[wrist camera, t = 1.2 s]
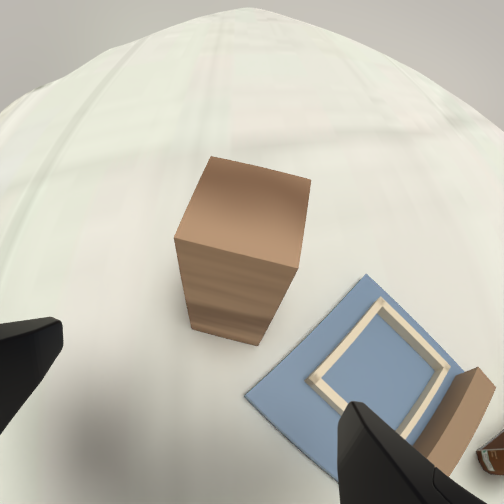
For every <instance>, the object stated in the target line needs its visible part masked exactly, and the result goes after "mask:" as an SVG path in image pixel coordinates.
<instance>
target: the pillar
mask: <svg viewBox="0 0 504 504" xmlns="http://www.w3.org/2000/svg"><path fill="white" fill-rule="evenodd" d="M310 185H311V180H310V179H307V178H303V177H299V176H295V175H291V174H287V173H283V172H279V171H275V170H271V169H267V168H263V167H258V166H254V165H250V164H245V163H241V162H236V161H232V160H227V159H222V158H217V157H212V156H211V157H210V159H209V161H208V163H207V165H206V167H205V169H204V172H203V174H202V176H201V178H200V180H199V182H198V184H197V187H196V189H195V191H194V193H193V195H192V197H191V200H190V202H189V204H188V206H187V209H186V211H185V213H184V215H183V218H182V220H181V222H180V224H179V227H178V229H177V231H176V234H175V236H174V241H175V247H176V252H177V258H178V264H179V269H180V274H181V280H182V285H183V290H184V295H185V300H186V305H187V309H188V314H189V319H190V323H191V328H192V329H193V330H197V331H201V332H204V333H208V334H212V335H215V336H219V337H223V338H227V339H231V340H235V341H239V342H243V343H247V344H251V345H255V346H258V345H259V343H260V341H261V340H262V338H263V336H264V334H265V332H266V330H267V328H268V326H269V325H270V323H271V321H272V319H273V317H274V315H275V313H276V311H277V309H278V307H279V305H280V303H281V301H282V300H283V298H284V296H285V294H286V292H287V290H288V288H289V286H290V284H291V282H292V280H293V278H294V276H295V274H296V272H297V270H298V267H299V261H300V254H301V248H302V241H303V235H304V228H305V221H306V214H307V207H308V200H309V193H310Z"/></svg>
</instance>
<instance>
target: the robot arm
mask: <svg viewBox="0 0 504 504" xmlns="http://www.w3.org/2000/svg"><path fill="white" fill-rule="evenodd" d="M62 348H63V326H62V322H61V321H60V320H58V319H55V318H53V317H45V318H38V319H31V320H24V321H17V322H10V323H3V324H0V435H1V433H2V432H3V430H4V429H5V428H6V426H7V425H8V424H9V422H10V421H11V420H12V418H13V417H14V416H15V414H16V413H17V412H18V410H19V409H20V408H21V406H22V405H23V404H24V403H25V401H26V400H27V399H28V398H29V396H30V395H31V394H32V392H33V391H34V390H35V389H36V387H37V386H38V385H39V384H40V382H41V381H42V379H43V378H44V376H45V375H46V373H47V372H48V370H49V368H50V367H51V365H52V364H53V362H54V361H55V359H56V358H57V356H58V355H59V353H60V352H61V350H62ZM337 473H338V483H339V494H340V504H487V503H485V502H484V501H482V500H480V499H479V498H477V497H476V496H474V495H473V494H471V493H470V492H468V491H467V490H466V489H464V488H463V487H461V486H460V485H458V484H457V483H456V482H454V481H453V480H452V479H451V478H449V477H448V476H447V475H446V474H444V473H443V472H442V471H441V470H440V469H438V468H437V467H435V465H434V464H433V463H431V462H430V461H429V460H428V459H427V458H426V457H424V456H423V455H422V454H421V453H420V452H419V451H417V450H416V449H415V448H414V447H413V446H412V445H411V444H409V443H408V442H407V441H406V440H405V439H404V438H403V437H401V436H400V435H399V434H398V433H397V432H396V431H395V430H394V429H392V428H391V427H390V426H389V425H388V424H387V423H386V422H385V421H383V420H382V419H381V418H380V417H379V416H378V415H377V414H376V413H375V412H373V411H372V410H371V409H370V408H369V407H368V406H367V405H366V404H365V403H363V402H358V401H351V402H349V403H348V405H347V406H346V408H345V410H344V412H343V414H342V416H341V418H340V419H339V422H338V427H337Z"/></svg>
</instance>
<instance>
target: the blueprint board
mask: <svg viewBox="0 0 504 504" xmlns="http://www.w3.org/2000/svg"><path fill="white" fill-rule="evenodd" d="M495 389H496V387H495V386H494V384H493V383H492V382H491V381H490V380H489V379H488V377H487V376H486V375H485V374H484V373H483V372H482V371H481V369H480V368H479V367H476V368H474V369H471V370H469V371H466V372H464V371H463V370H462V369H461V367H460V366H459V365H458V364H457V363H456V362H455V361H454V360H453V359H452V358H451V357H450V356H449V355H448V354H447V353H446V352H445V351H444V349H443V348H442V347H441V346H440V345H439V344H438V343H437V342H436V341H435V340H434V339H433V338H432V337H431V336H430V335H429V334H428V333H427V332H426V331H425V330H424V329H423V328H422V327H421V326H420V325H419V324H418V323H417V322H416V321H415V320H414V319H413V318H412V317H411V316H410V315H409V314H408V313H407V312H406V311H405V310H404V309H403V308H402V307H401V306H400V305H399V304H398V303H397V302H396V301H395V300H394V299H392V298H391V297H390V296H389V295H388V294H387V293H386V292H385V291H384V290H383V289H382V288H381V287H380V286H379V285H378V284H377V283H376V282H375V281H374V280H372V279H371V278H370V277H369V276H368V275H367V274H365V275H364V277H363V278H362V279H361V280H360V281H359V282H358V283H357V284H356V285H355V287H354V288H353V289H352V290H351V291H350V292H349V293H348V294H347V295H346V296H345V298H344V299H343V300H342V301H341V302H340V303H339V304H338V305H337V306H336V307H335V308H334V309H333V310H332V311H331V313H330V314H329V315H328V316H327V317H326V318H325V319H324V320H323V321H322V322H321V323H320V324H319V325H318V326H317V327H316V328H315V329H314V330H313V331H312V332H311V333H310V334H309V335H308V336H307V337H306V338H305V339H304V340H303V341H302V342H301V343H300V344H299V345H298V346H297V347H296V348H295V349H294V350H293V351H292V352H291V353H290V354H289V355H288V356H287V357H286V358H285V359H284V360H283V361H282V362H281V363H280V364H278V365H277V366H276V367H275V368H274V369H273V370H272V371H271V372H270V373H269V374H268V375H267V376H266V377H265V378H263V379H262V380H261V381H260V382H259V383H258V384H257V385H256V386H255V387H254V388H252V389H251V390H250V391H249V392H248V393H247V394H246V395H245V396H244V397H245V398H246V399H247V400H248V401H249V402H250V403H251V404H252V405H253V406H254V407H255V408H256V409H257V410H258V411H259V412H260V413H261V414H262V415H263V416H264V417H265V418H266V419H267V420H268V421H270V422H271V423H272V424H273V425H274V426H275V427H276V428H277V429H278V430H279V431H280V432H281V433H282V434H283V435H284V436H285V437H287V438H288V439H289V440H290V441H291V442H292V443H293V444H294V445H295V446H296V447H298V448H299V449H300V450H301V451H302V452H303V453H304V454H305V455H307V456H308V457H309V458H310V459H311V460H312V461H313V462H315V463H316V464H317V465H318V466H319V467H320V468H322V469H323V470H324V471H325V472H326V473H328V474H329V475H330V476H331V477H332V478H334V479H335V480H336V481H337V482H338V473H337V427H338V422H339V419H340V418H341V416H342V414H343V412H344V410H345V408H346V406H347V405H348V403H349V402H351V401H358V402H363V403H365V404H366V405H367V406H368V407H369V408H370V409H371V410H372V411H373V412H375V413H376V414H377V415H378V416H379V417H380V418H381V419H382V420H383V421H385V422H386V423H387V424H388V425H389V426H390V427H391V428H392V429H394V430H395V431H396V432H397V433H398V434H399V435H400V436H401V437H403V438H404V439H405V440H406V441H407V442H408V443H409V444H411V445H412V446H413V447H414V448H415V449H416V450H417V451H419V452H420V453H421V454H422V455H423V456H424V457H426V458H427V459H428V460H429V461H430V462H431V463H433V464H434V465H435V467H437V468H438V469H440V470H441V471H442V472H443V473H444V474H446V475H447V476H448V477H449V476H450V474H451V473H452V471H453V470H454V468H455V466H456V465H457V463H458V462H459V460H460V458H461V457H462V455H463V453H464V451H465V450H466V448H467V446H468V444H469V443H470V441H471V439H472V437H473V435H474V433H475V431H476V429H477V428H478V426H479V424H480V422H481V420H482V418H483V415H484V413H485V411H486V409H487V407H488V405H489V403H490V400H491V398H492V396H493V394H494V391H495Z"/></svg>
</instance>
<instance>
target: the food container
mask: <svg viewBox="0 0 504 504" xmlns="http://www.w3.org/2000/svg"><path fill="white" fill-rule="evenodd" d="M476 452H477V456H478V460H479V462H480V464H481V466H482V468H483V470H485V471H486V472H488V473H489V474H494V475H504V430H502V431H501V432H500V433H499V434H497V435H496V436H495V437H494V438H492V439H491V440H490V441H489V442H487V443H486V444H485V445H483V446H482V447H481V448H479V449H478V450H476Z"/></svg>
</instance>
